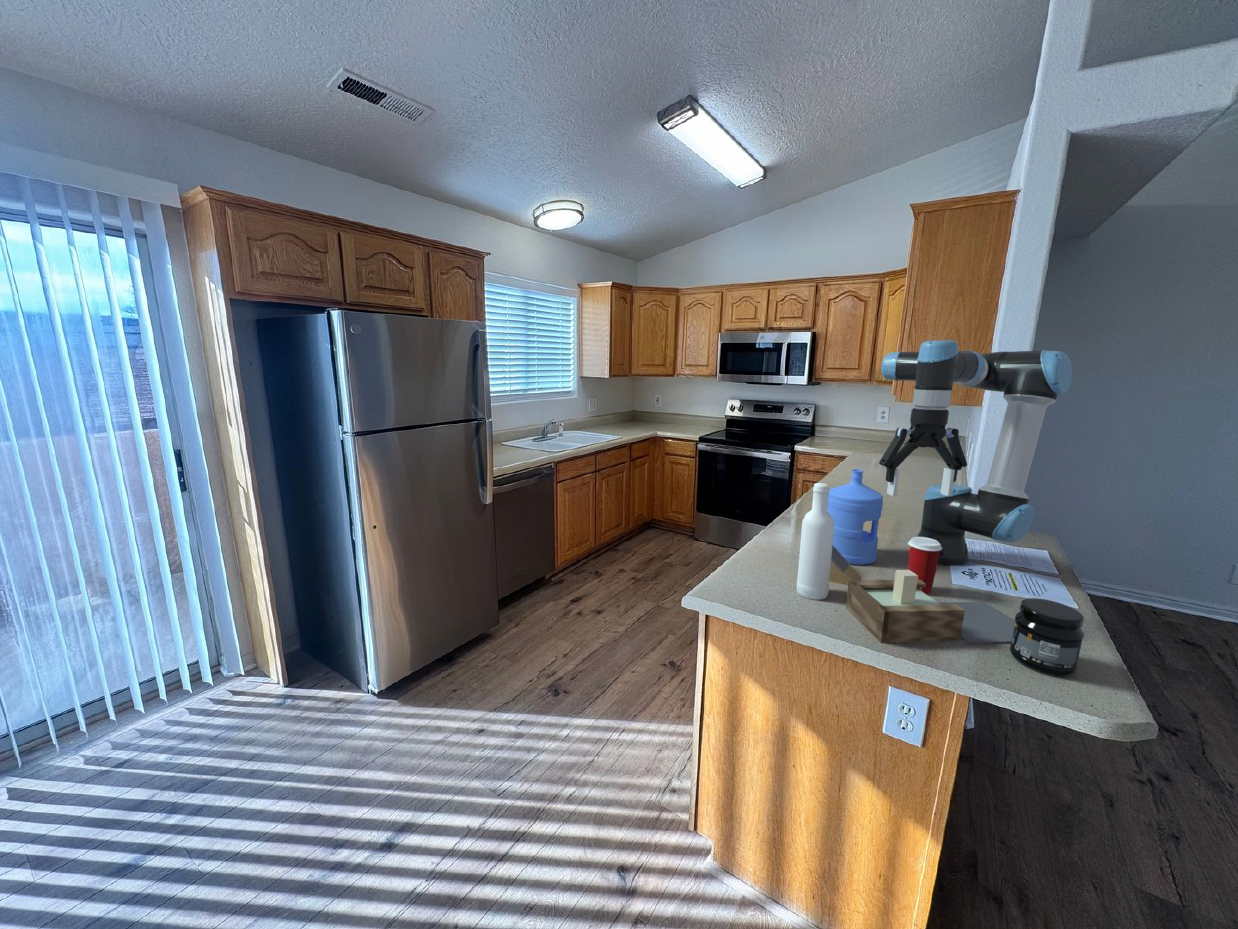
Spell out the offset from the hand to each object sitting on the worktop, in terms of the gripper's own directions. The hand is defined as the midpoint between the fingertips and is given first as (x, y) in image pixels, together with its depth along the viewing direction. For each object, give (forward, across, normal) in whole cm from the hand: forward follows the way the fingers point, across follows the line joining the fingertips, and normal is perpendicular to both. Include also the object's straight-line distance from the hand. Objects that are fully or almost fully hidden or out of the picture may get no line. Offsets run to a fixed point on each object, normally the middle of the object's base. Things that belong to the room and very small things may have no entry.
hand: (918, 495), depth 119 cm
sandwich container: (+29, +11, -17) cm, 35 cm away
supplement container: (+29, -13, +26) cm, 41 cm away
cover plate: (+24, +7, +10) cm, 27 cm away
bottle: (+29, +21, -6) cm, 36 cm away
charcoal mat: (+29, -12, +10) cm, 32 cm away
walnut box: (+29, +7, +10) cm, 31 cm away
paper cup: (+29, -9, -7) cm, 31 cm away
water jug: (+29, -1, -31) cm, 42 cm away
